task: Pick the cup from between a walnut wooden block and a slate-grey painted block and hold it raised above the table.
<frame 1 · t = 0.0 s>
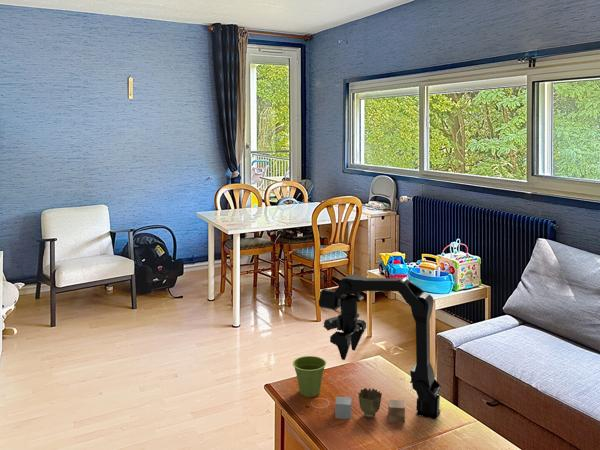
hand: (348, 354, 183), 15 cm above the table, tool pointing down, fingers open, 9 cm apart
slate grey block: (343, 414, 172), on the table
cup: (369, 416, 171), on the table
walnut block: (396, 418, 170), on the table
plant pot: (309, 393, 187), on the table
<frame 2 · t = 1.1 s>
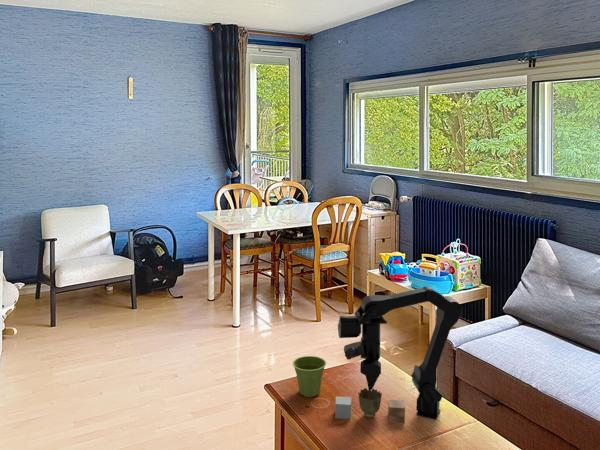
hand: (370, 382, 169), 12 cm above the table, tool pointing down, fingers open, 9 cm apart
nothing on the table moved.
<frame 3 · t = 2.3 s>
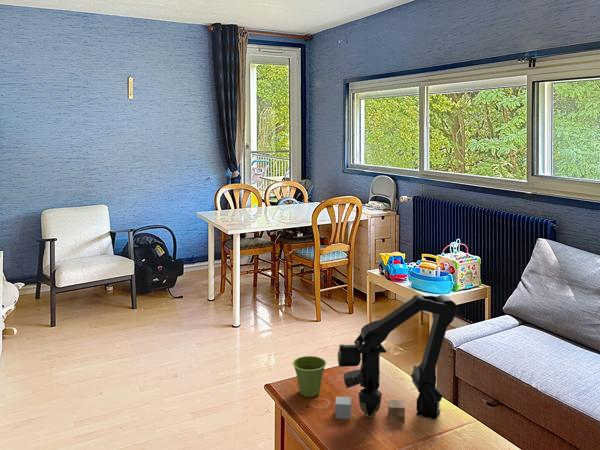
hand: (369, 410, 171), 2 cm above the table, tool pointing down, fingers closed on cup, 6 cm apart
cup: (369, 416, 171), on the table, touching gripper
everything else where it was.
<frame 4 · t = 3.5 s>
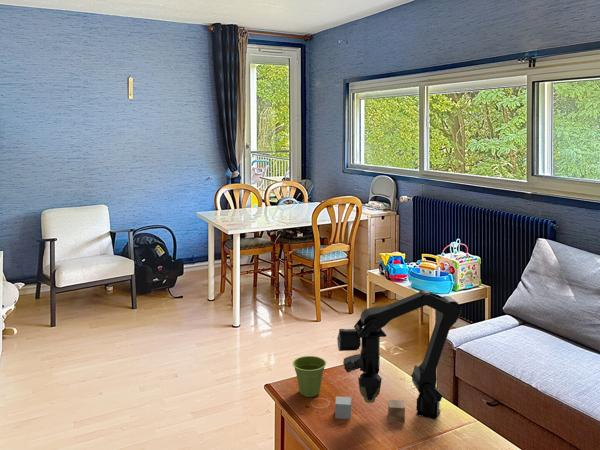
hand: (369, 395, 170), 7 cm above the table, tool pointing down, fingers closed on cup, 6 cm apart
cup: (369, 401, 170), point 5 cm above the table, touching gripper
everything else where it was.
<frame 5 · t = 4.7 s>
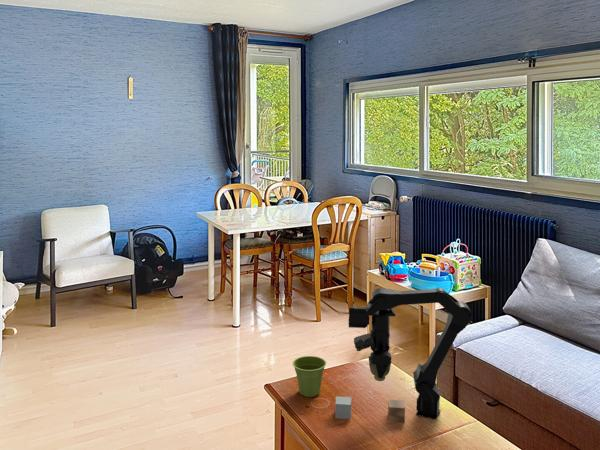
hand: (379, 373, 173), 13 cm above the table, tool pointing down, fingers closed on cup, 6 cm apart
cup: (379, 380, 173), point 11 cm above the table, touching gripper
everything else where it was.
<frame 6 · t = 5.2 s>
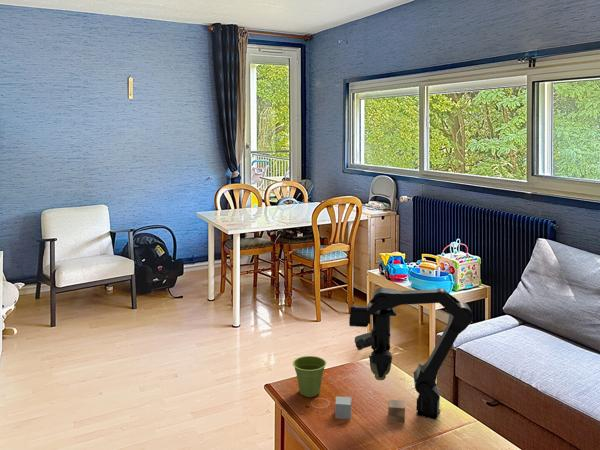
hand: (380, 372, 173), 13 cm above the table, tool pointing down, fingers closed on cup, 6 cm apart
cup: (380, 379, 173), point 11 cm above the table, touching gripper
everything else where it was.
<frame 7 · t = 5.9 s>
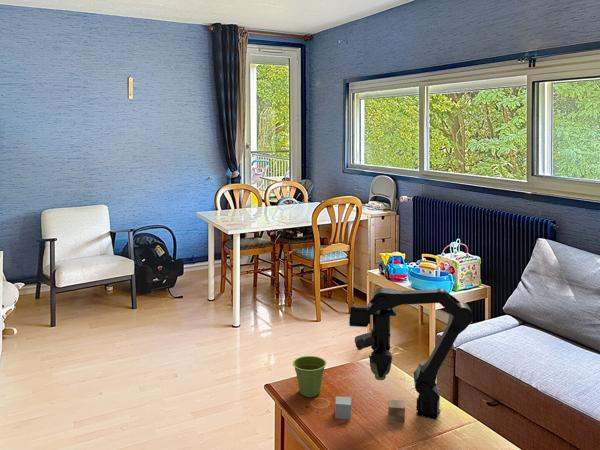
hand: (380, 372, 173), 13 cm above the table, tool pointing down, fingers closed on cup, 6 cm apart
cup: (380, 379, 173), point 11 cm above the table, touching gripper
everything else where it was.
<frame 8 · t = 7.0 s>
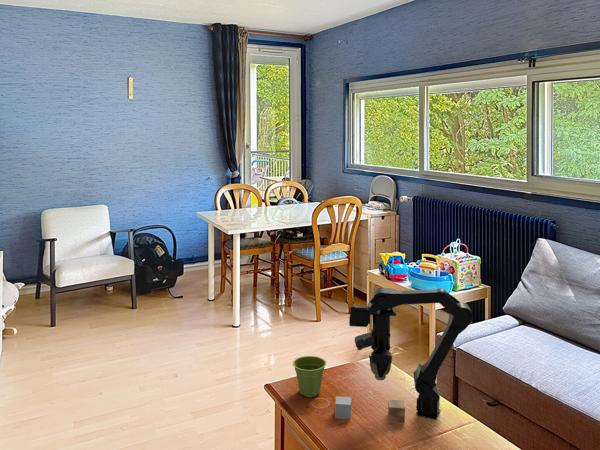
hand: (380, 372, 173), 13 cm above the table, tool pointing down, fingers closed on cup, 6 cm apart
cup: (380, 379, 173), point 11 cm above the table, touching gripper
everything else where it was.
at the end: the gripper is holding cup; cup point 10.7 cm above the table; walnut block moved 0.1 cm from its start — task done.
